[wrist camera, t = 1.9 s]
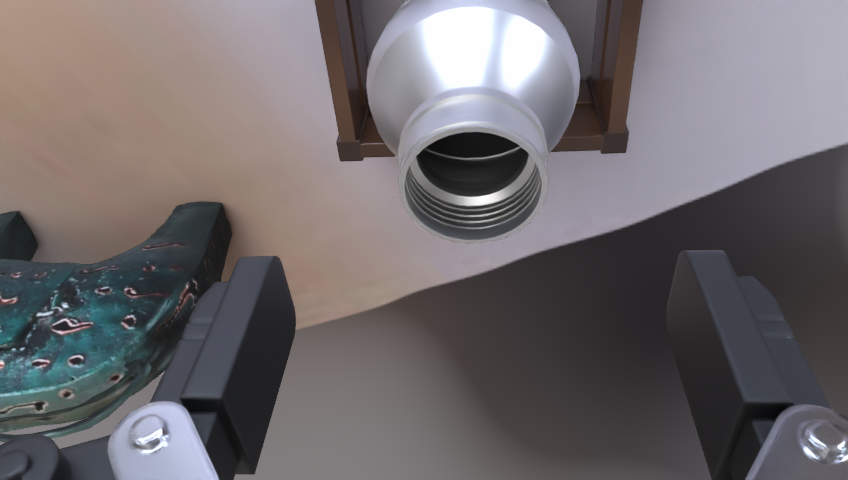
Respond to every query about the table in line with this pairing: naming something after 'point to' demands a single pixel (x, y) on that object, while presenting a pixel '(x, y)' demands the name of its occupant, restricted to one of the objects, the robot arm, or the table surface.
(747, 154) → the table surface
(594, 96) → the crate
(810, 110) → the table surface
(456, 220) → the metal water bottle
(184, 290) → the ceramic cat
